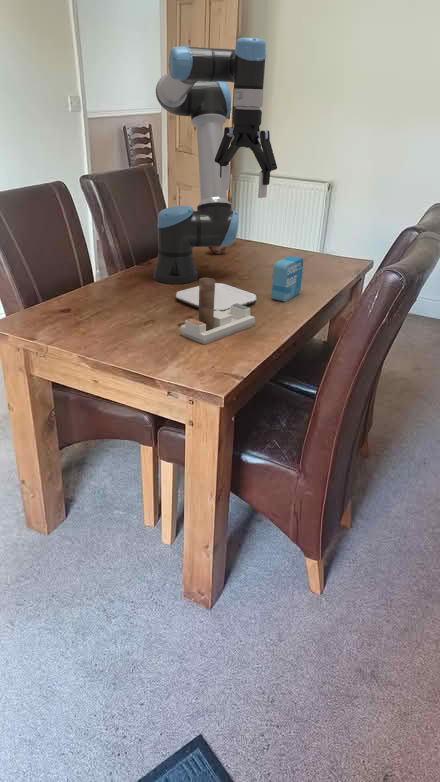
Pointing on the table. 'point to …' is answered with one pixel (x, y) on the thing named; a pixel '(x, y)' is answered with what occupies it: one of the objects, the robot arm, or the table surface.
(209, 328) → the dowel
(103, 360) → the table surface
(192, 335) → the socket block
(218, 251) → the fruit
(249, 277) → the table surface
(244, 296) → the plate
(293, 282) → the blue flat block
